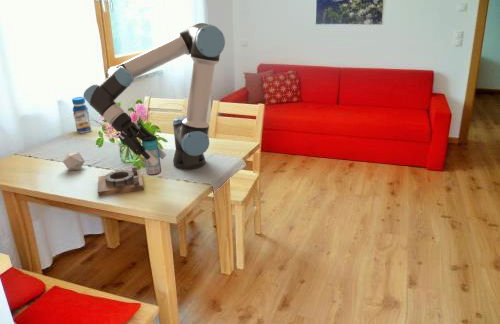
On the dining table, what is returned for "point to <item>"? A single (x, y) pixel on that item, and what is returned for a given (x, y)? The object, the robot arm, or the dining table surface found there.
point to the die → (73, 161)
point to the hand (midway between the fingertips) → (160, 160)
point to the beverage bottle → (81, 115)
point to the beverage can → (152, 147)
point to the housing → (120, 182)
